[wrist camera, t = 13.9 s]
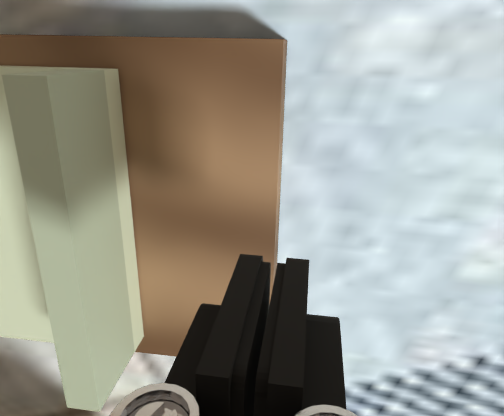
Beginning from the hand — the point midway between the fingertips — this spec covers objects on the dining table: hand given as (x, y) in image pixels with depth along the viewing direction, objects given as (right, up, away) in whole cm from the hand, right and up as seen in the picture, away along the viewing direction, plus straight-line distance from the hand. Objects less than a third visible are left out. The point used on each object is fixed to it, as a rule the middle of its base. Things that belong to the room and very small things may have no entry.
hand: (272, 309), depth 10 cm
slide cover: (-10, +2, +6) cm, 12 cm away
